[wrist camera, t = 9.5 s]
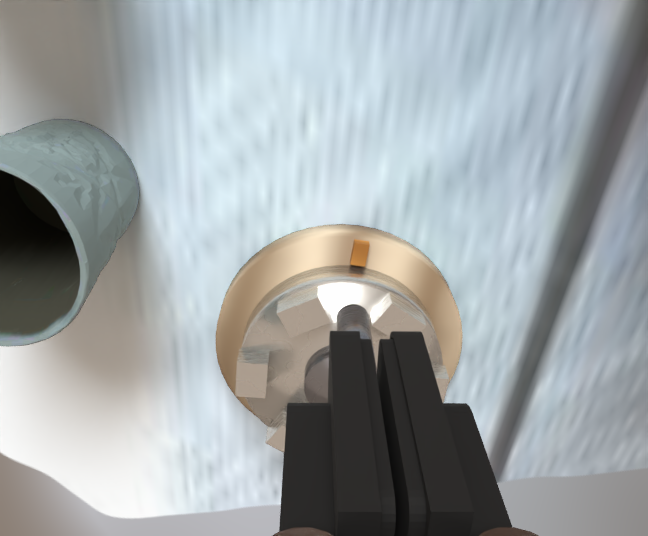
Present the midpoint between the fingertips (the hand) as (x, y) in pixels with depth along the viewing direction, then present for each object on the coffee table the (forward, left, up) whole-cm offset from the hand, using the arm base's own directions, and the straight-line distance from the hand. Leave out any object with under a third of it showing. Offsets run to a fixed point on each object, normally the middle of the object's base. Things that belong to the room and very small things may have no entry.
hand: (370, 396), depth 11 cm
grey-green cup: (+17, +6, -29) cm, 34 cm away
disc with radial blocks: (-1, +18, -27) cm, 32 cm away
